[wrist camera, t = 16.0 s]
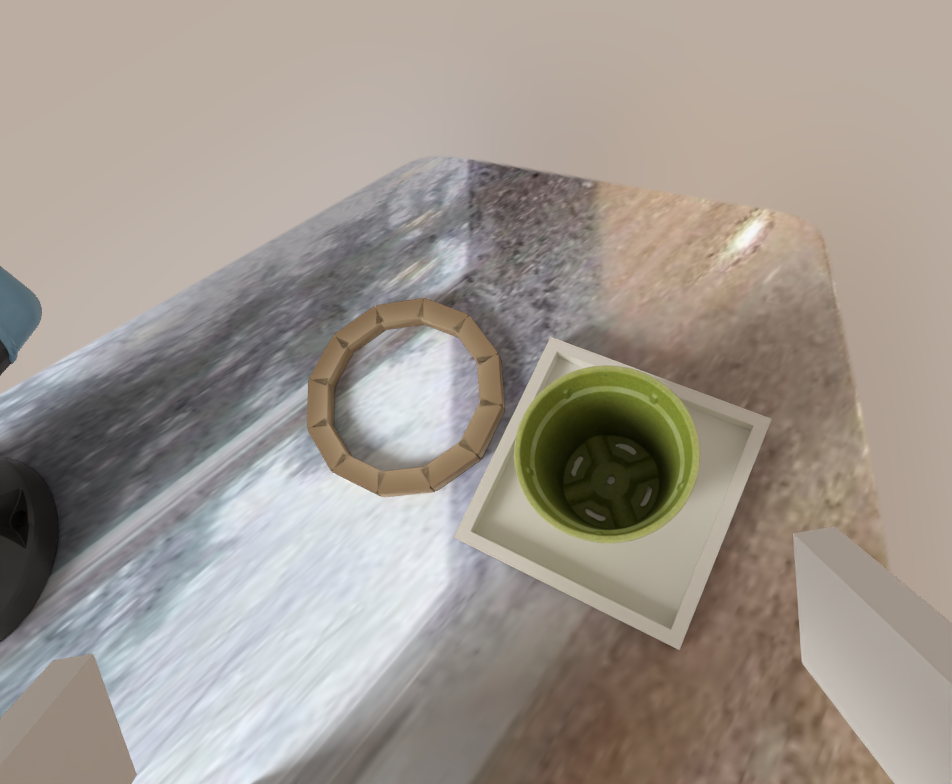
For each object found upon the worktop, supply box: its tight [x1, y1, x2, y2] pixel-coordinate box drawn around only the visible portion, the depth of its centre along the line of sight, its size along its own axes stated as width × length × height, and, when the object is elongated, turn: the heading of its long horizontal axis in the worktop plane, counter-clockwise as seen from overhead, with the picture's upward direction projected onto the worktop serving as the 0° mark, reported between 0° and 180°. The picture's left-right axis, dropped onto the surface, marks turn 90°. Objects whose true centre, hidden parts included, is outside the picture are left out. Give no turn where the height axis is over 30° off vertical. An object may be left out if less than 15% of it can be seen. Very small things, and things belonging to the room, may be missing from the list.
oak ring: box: [307, 298, 505, 497], centre depth 49 cm, size 14×14×1 cm
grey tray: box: [454, 337, 772, 650], centre depth 44 cm, size 15×15×2 cm
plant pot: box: [514, 366, 700, 543], centre depth 40 cm, size 9×9×9 cm
